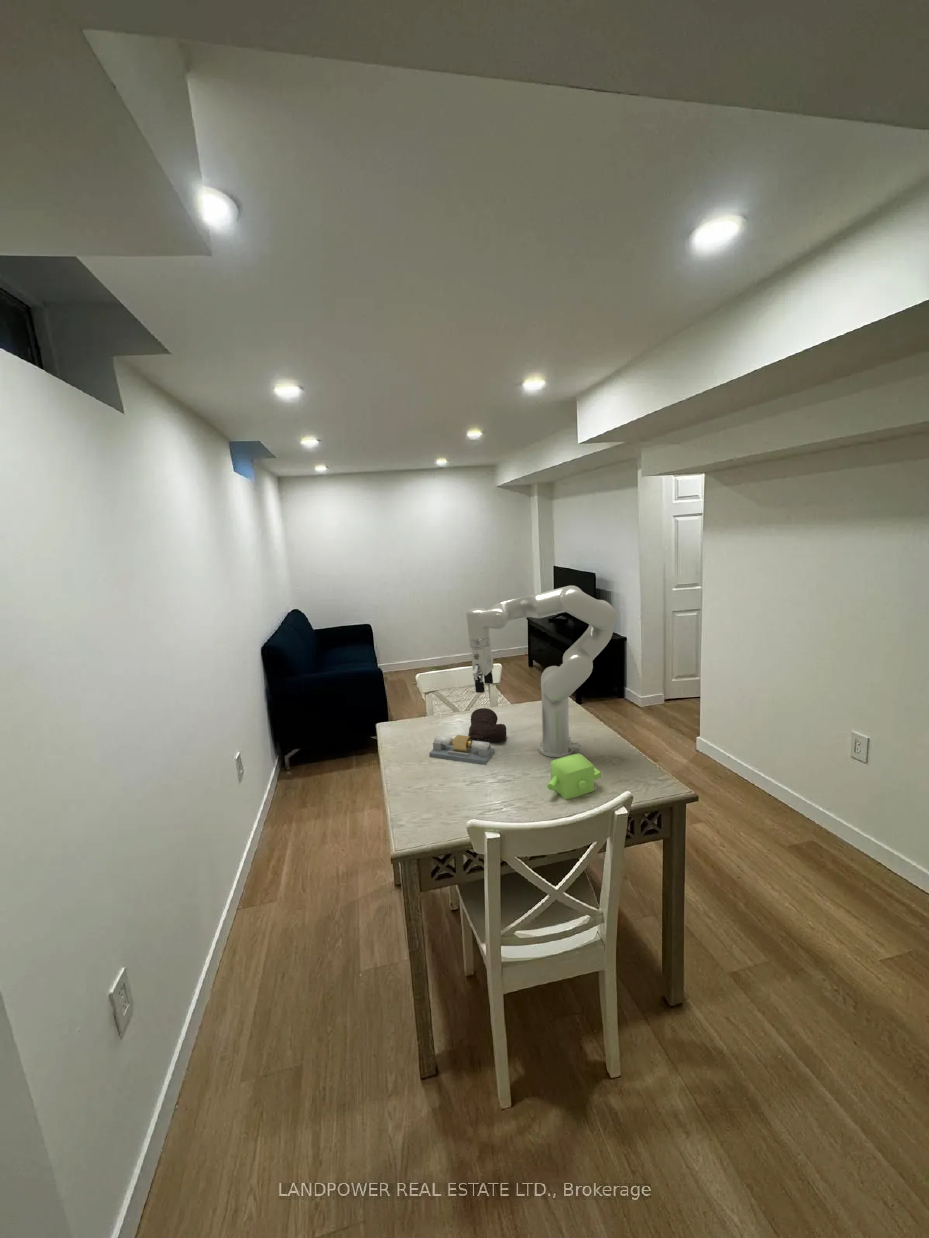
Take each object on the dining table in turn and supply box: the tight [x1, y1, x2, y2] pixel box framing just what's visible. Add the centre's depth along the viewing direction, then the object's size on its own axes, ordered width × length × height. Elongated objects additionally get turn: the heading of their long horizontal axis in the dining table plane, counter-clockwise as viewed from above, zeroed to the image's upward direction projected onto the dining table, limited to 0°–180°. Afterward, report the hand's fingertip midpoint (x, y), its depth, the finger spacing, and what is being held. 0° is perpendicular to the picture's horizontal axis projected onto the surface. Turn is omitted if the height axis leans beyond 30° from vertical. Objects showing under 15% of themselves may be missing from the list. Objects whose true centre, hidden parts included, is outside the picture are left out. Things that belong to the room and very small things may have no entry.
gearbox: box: [547, 753, 602, 800], centre depth 152 cm, size 18×10×10 cm, turn 111°
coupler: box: [451, 734, 473, 753], centre depth 180 cm, size 7×4×5 cm, turn 68°
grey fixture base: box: [428, 735, 496, 766], centre depth 180 cm, size 22×10×6 cm, turn 68°
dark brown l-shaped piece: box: [467, 707, 507, 743], centre depth 195 cm, size 10×15×15 cm
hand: (484, 687), depth 179 cm, fingers open, 9 cm apart
